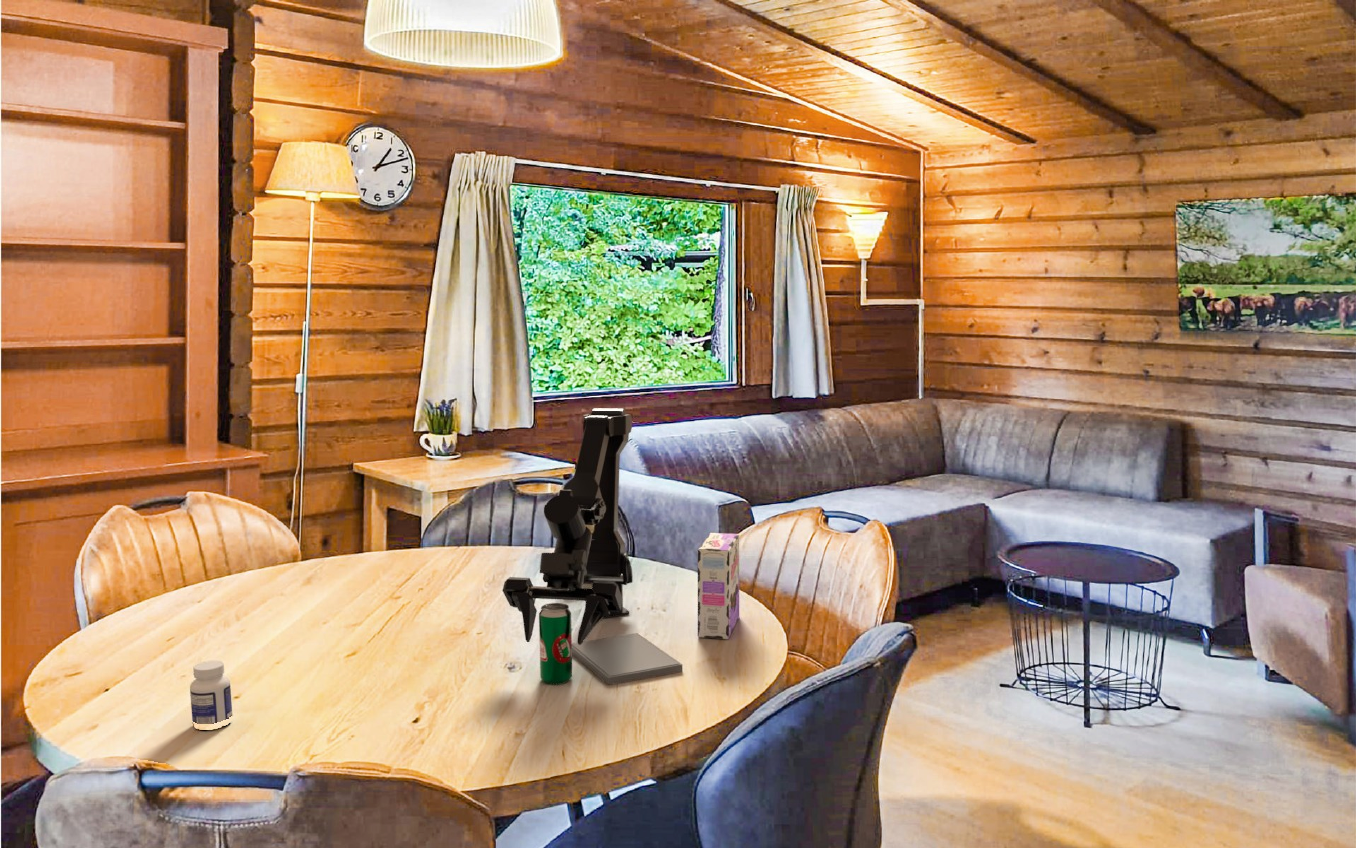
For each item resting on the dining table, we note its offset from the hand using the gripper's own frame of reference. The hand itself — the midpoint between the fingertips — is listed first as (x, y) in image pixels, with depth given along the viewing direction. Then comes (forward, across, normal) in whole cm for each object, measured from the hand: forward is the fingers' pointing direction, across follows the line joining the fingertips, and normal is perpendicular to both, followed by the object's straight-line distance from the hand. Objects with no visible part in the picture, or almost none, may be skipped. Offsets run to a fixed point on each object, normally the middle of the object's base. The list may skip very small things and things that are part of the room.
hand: (553, 642), depth 165 cm
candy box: (-18, +22, +27) cm, 39 cm away
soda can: (+4, 0, +6) cm, 7 cm away
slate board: (-3, +9, +13) cm, 16 cm away
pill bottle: (+21, -44, -12) cm, 50 cm away
